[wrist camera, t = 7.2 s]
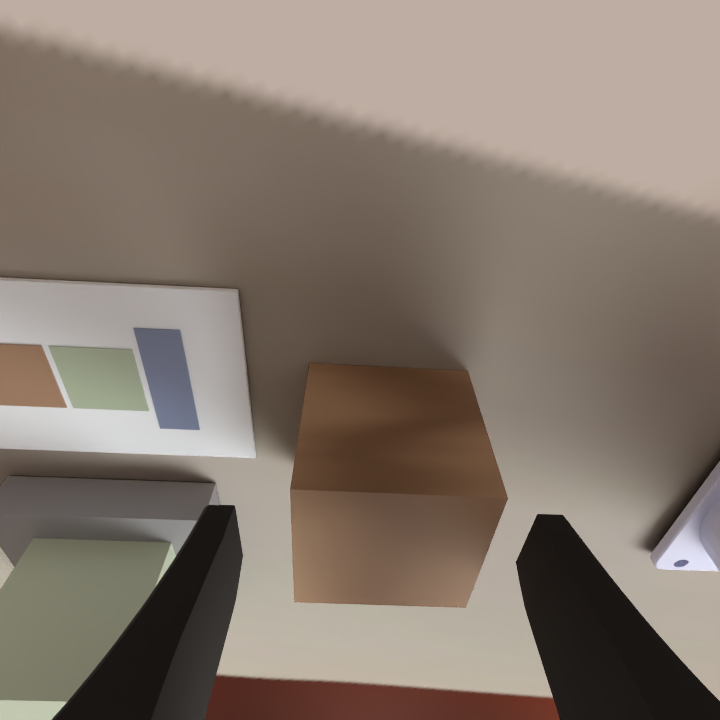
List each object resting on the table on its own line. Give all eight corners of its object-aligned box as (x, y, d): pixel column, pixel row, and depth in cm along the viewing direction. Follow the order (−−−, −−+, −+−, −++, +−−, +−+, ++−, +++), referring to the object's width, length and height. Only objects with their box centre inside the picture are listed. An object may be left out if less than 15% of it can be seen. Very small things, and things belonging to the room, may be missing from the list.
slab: (215, 483, 16) (203, 520, 15) (235, 589, 20) (227, 626, 19) (7, 475, 16) (-22, 513, 14) (71, 585, 20) (52, 621, 19)
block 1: (171, 542, 15) (112, 702, 12) (192, 609, 18) (149, 758, 14) (33, 537, 15) (-70, 698, 12) (74, 606, 18) (0, 755, 14)
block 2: (467, 369, 13) (507, 498, 10) (441, 474, 16) (465, 607, 12) (309, 361, 13) (289, 489, 9) (309, 468, 16) (294, 602, 12)
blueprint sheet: (237, 289, 12) (236, 292, 11) (256, 454, 15) (254, 458, 15) (-174, 268, 11) (-181, 272, 11) (-59, 442, 15) (-64, 447, 15)
